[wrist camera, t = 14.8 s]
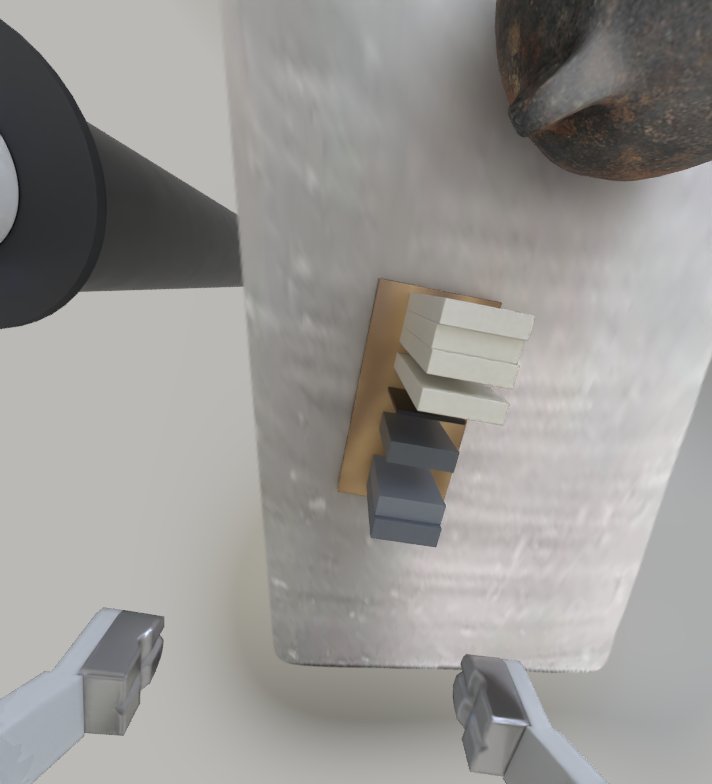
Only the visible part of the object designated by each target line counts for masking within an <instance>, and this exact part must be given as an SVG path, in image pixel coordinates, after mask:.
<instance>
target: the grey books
mask: <svg viewBox="0 0 712 784" xmlns="http://www.w3.org/2000/svg"><path fill="white" fill-rule="evenodd" d="M379 430H380V435H381V440H382V445H383V449H384V454H385V456H381V455H374V454H373V458H372V462H371V467H370V471H369V476H368V480H367V485H366V489H367V501H368V512H369V524H370V535H371V538H376V539H383V540H390V541H397V542H403V543H410V544H417V545H424V546H431V547H436V546H437V542H438V539H439V536H440V532H441V526H440V524H441V521H442V518H443V514H444V511H445V508H446V505H445V503H444V501H443V498H442V496H441V494H440V491H439V489H438V487H437V485H436V482H435V480H434V478H433V475H432V473H431V471H430V469H433V470H439V471H445V472H451V473H453V472H454V469H455V466H456V462H457V459H458V455H459V451H458V450H457V448H456V447H455V445H454V444H453V442H452V441H451V439H450V438H449V436H448V434H447V433H446V431H445V430H444V428H443V427H442V425H441V424H440V422H439V421H437V420H431V419H425V418H420V417H414V416H408V415H402V414H396V413H391V412H385V411H383V413H382V417H381V422H380V426H379Z"/></svg>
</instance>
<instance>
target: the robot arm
mask: <svg viewBox="0 0 712 784" xmlns="http://www.w3.org/2000/svg"><path fill="white" fill-rule="evenodd" d="M18 199H19V191H18V180H17V175H16V170H15V166H14V163H13V160H12V157H11V155H10V152H9V150H8V148H7V146H6V144H5V142H4V140H3V138H2V136H1V134H0V243H1V242H2V241H3V240H4V239H5V237H6V236H7V234H8V233H9V231H10V230H11V228H12V225H13V223H14V220H15V217H16V214H17V208H18ZM163 628H164V617H163V616H157V615H151V614H144V613H138V612H132V611H126V610H118V609H111V608H102V609H101V610H100V611H99V612H97V613H96V614H95V616H94V617H93V618H92V620H91V621H90V622H89V623H88V625H87V626H86V627H85V629H84V630H83V631H82V632H81V634H80V635H79V637H78V638H77V639H76V640H75V642H74V643H73V644H72V645H71V647H70V648H69V649H68V651H67V652H66V653H65V655H64V656H63V657H62V658H61V660H60V661H59V662H58V664H57V665H56V666H55V668H54V669H53V670H52V671H51V672H49V671H44V672H43V673H41V674H39V675H38V676H36V677H35V678H33V679H32V680H30V681H28V682H27V683H25V684H24V685H22V686H21V687H19V688H17V689H16V690H14V691H12V692H11V693H9V694H8V695H6V696H5V697H3V698H1V699H0V784H32V783H33V782H35V781H36V780H37V779H38V778H39V777H40V776H41V775H42V774H43V773H44V772H45V771H46V770H48V769H49V768H50V767H51V766H52V765H53V764H54V763H55V762H56V761H57V760H59V759H60V758H61V757H62V756H63V755H64V754H65V753H66V752H67V751H68V750H69V749H71V748H72V747H73V746H74V745H75V744H76V743H77V742H78V741H79V740H80V739H81V738H83V737H84V733H92V734H106V735H107V734H108V735H122V736H123V735H124V734H125V732H126V730H127V728H128V726H129V724H130V722H131V720H132V718H133V716H134V714H135V712H136V710H137V708H138V706H139V704H140V691H141V690H142V689H143V688H145V687H146V686H147V685H148V684H150V682H151V680H152V678H153V676H154V674H155V672H156V669H157V666H158V663H159V661H160V658H161V654H162V649H163V638H162V637H161V636H160V633H161V632H162V630H163ZM461 667H462V672H461V673H459V674H458V675H457V676H456V678H455V681H454V684H453V703H454V709H455V713H456V718H457V719H458V721H459V722H460V723H461V725H462V726H463V727H464V729H465V731H464V734H463V737H462V742H463V746H464V750H465V754H466V758H467V762H468V766H469V770H470V772H475V773H483V774H489V775H497V776H504V777H503V779H504V781H505V783H506V784H609V783H608V782H607V781H606V780H605V779H604V778H603V776H601V774H600V773H599V772H598V771H597V770H596V769H595V768H594V767H593V766H592V765H591V764H590V763H589V762H588V761H587V760H586V759H585V758H584V757H583V755H581V753H580V752H579V751H578V750H577V749H576V748H575V747H574V746H573V745H572V744H571V743H570V742H569V741H568V740H567V739H566V738H565V737H564V736H563V735H562V733H560V731H559V730H555V729H552V727H551V724H550V722H549V720H548V718H547V716H546V714H545V711H544V709H543V707H542V705H541V703H540V701H539V698H538V696H537V694H536V692H535V690H534V688H533V686H532V684H531V681H530V679H529V677H528V675H527V673H526V670H525V668H524V666H523V665H522V663H521V662H520V661H516V660H508V659H500V658H496V657H487V656H478V655H469V654H466V655H465V656H464V657H463V659H462V661H461Z"/></svg>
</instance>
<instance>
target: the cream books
mask: <svg viewBox="0 0 712 784" xmlns="http://www.w3.org/2000/svg"><path fill="white" fill-rule="evenodd" d="M534 320H535V315H531V314H526V313H520V312H515V311H510V310H505V309H500V308H495V307H490V306H485V305H480V304H475V303H470V302H465V301H460V300H455V299H450V298H444V297H437V296H431V295H424V294H417V293H410V297H409V301H408V305H407V310H406V314H405V319H404V323H403V328H402V332H401V337H400V341H399V342H400V343H401V345H402V346H403V347H404V348H405V349H406V350H407V351H408V353H409V354H410V355H411V356H412V357H413V358H414V359H415V361H416V362H417V363H418V364H419V365H420V366H421V368H422V369H423V370H424V371H425V372H426V373H427V374H432V375H437V376H443V377H448V378H454V379H459V380H465V381H470V382H476V383H481V384H487V385H492V386H498V387H503V388H509V389H512V388H513V385H514V382H515V379H516V376H517V373H518V370H519V367H520V366H519V365H517V363H518V360H519V357H520V354H521V351H522V347H523V344H524V341H527V340H528V338H529V335H530V332H531V329H532V326H533V323H534Z"/></svg>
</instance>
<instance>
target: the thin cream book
mask: <svg viewBox="0 0 712 784" xmlns="http://www.w3.org/2000/svg"><path fill="white" fill-rule="evenodd" d="M394 368H395V370H396V372H397V374H398V376H399V378H400V380H401V381H402V383H403V385H404V387H405V389H406V391H407V392H408V394H409V396H410V398H411V400H412V402H413V404H414V405H415V407H416V409H417V410H418V411H422V412H428V413H434V414H440V415H445V416H451V417H457V418H463V419H468V420H474V421H480V422H486V423H492V424H497V425H503V424H504V421H505V418H506V415H507V412H508V409H509V406H510V403H508V402H507V401H506V400H504V399H503V398H502V397H500V396H499V395H498V394H496V393H495V392H494V391H492V390H491V389H489V388H488V387H487V386H485V385H484V384H481V383H476V382H470V381H465V380H459V379H454V378H448V377H443V376H437V375H432V374H427V373H426V372H425V371H424V370H423V369H422V368H421V366H420V365H419V364H418V363H417V362H416V361H415V359H414V358H413V357H412V356H411V355H410V354H405V353H400V352H397V354H396V359H395V363H394Z"/></svg>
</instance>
